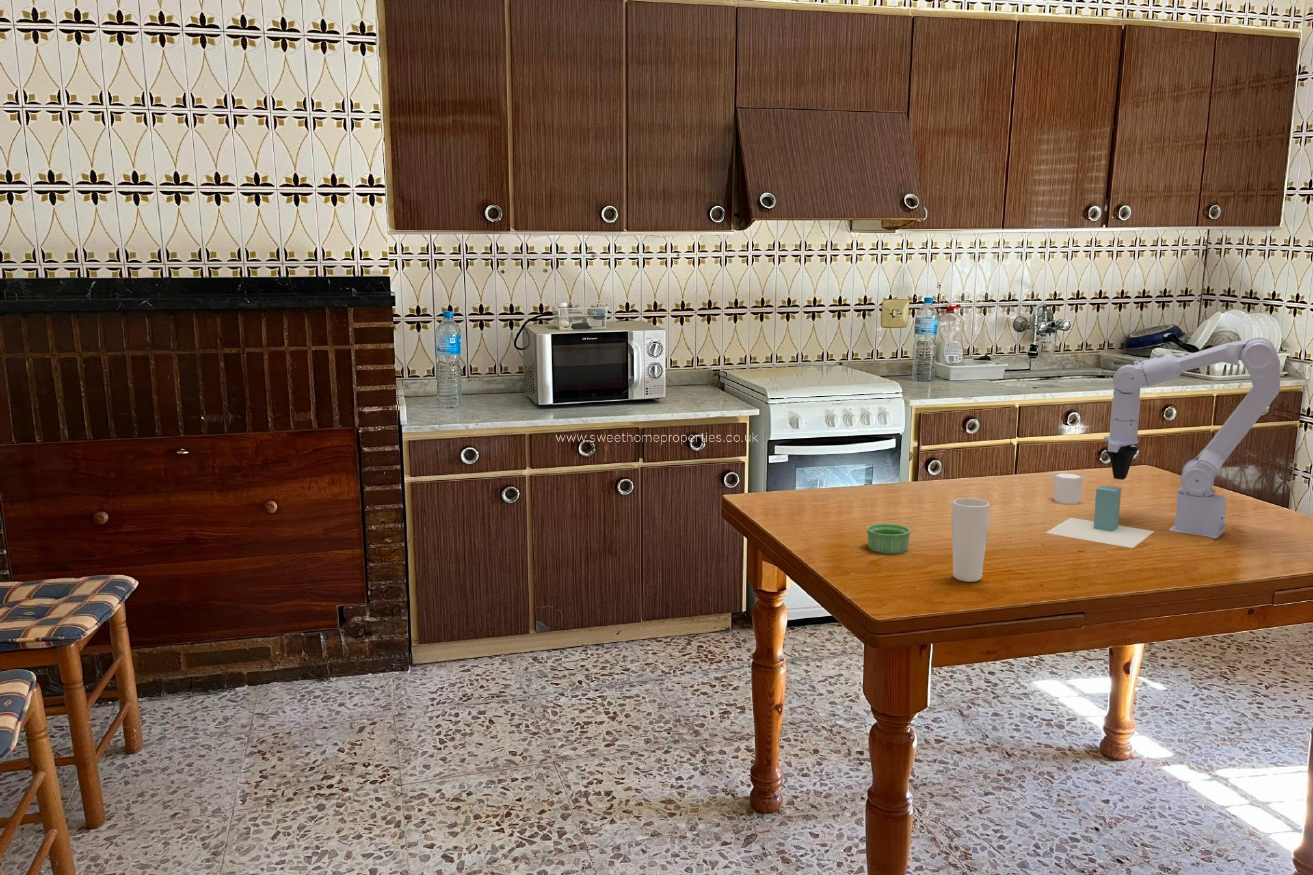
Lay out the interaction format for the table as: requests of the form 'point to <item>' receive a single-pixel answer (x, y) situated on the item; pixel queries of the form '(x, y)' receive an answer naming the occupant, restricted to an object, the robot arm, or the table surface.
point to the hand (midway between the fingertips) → (1119, 478)
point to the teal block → (1107, 508)
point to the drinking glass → (969, 537)
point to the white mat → (1100, 533)
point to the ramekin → (888, 538)
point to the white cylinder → (1067, 488)
